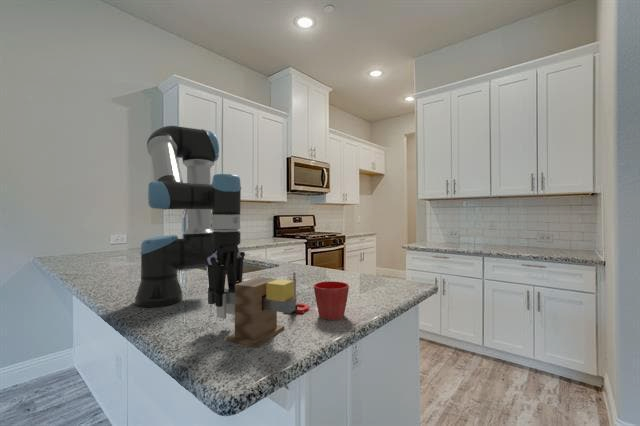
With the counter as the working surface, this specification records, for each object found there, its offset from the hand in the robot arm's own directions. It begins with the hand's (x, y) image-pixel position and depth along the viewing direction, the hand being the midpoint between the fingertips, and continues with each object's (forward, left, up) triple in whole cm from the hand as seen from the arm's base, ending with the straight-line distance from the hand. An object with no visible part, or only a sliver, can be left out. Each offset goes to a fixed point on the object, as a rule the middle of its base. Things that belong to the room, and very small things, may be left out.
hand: (226, 315), depth 85 cm
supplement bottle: (-5, +16, -4) cm, 17 cm away
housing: (+10, 0, -4) cm, 11 cm away
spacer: (+17, 0, +7) cm, 19 cm away
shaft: (+8, 0, +3) cm, 9 cm away
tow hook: (+9, +23, -4) cm, 25 cm away
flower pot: (+22, +22, -4) cm, 32 cm away
